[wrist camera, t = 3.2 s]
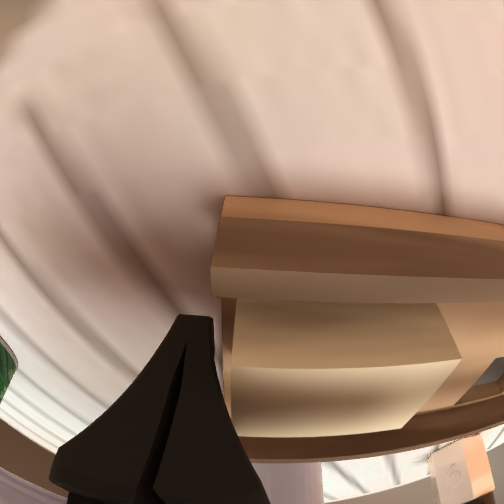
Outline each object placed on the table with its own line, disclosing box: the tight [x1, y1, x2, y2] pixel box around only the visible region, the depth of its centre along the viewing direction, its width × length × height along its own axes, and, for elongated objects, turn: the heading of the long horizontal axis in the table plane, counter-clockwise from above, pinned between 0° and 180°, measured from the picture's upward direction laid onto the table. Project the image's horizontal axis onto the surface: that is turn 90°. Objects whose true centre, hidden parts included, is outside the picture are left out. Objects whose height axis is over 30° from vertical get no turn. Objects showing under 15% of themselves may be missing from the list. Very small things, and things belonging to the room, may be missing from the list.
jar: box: [427, 434, 495, 504], centre depth 26 cm, size 9×8×12 cm
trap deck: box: [210, 196, 504, 463], centre depth 14 cm, size 16×26×4 cm, turn 87°
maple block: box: [231, 298, 462, 437], centre depth 11 cm, size 5×7×4 cm
